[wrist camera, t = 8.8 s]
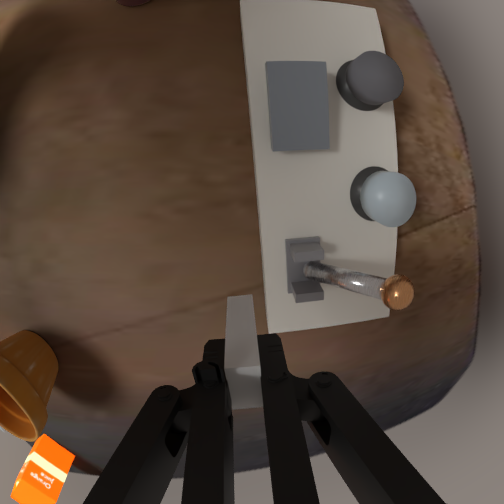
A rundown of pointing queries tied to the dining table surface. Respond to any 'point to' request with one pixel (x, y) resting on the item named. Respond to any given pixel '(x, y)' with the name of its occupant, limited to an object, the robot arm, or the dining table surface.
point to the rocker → (298, 105)
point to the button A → (374, 78)
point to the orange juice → (42, 473)
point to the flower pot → (25, 384)
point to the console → (318, 165)
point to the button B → (388, 198)
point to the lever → (364, 283)
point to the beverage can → (132, 2)
